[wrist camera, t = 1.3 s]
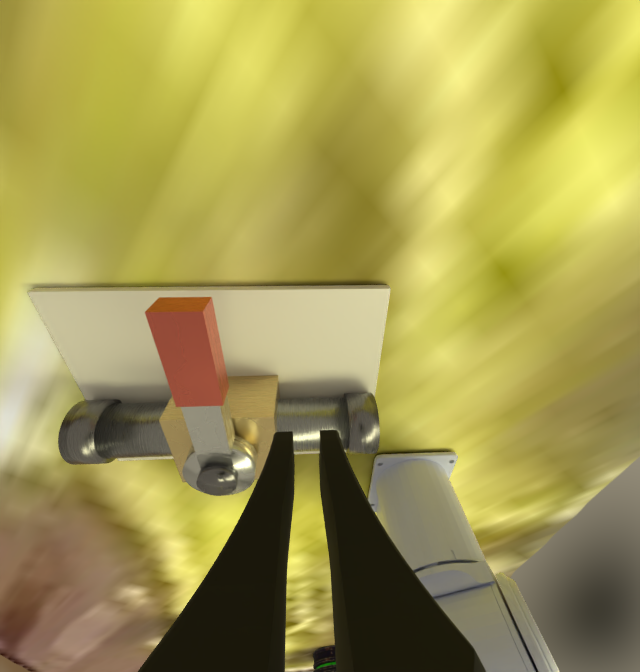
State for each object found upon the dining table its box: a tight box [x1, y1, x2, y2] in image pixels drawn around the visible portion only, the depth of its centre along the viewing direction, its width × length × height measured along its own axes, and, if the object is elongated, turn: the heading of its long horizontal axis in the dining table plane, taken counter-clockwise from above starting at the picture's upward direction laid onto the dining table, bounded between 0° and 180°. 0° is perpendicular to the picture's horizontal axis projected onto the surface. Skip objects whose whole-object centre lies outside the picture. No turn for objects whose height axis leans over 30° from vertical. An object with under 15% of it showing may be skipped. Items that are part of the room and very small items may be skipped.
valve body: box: [58, 375, 380, 482], centre depth 22 cm, size 6×21×5 cm, turn 89°
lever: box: [145, 297, 257, 496], centre depth 17 cm, size 14×4×2 cm, turn 179°
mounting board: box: [27, 285, 390, 461], centre depth 23 cm, size 16×22×1 cm
